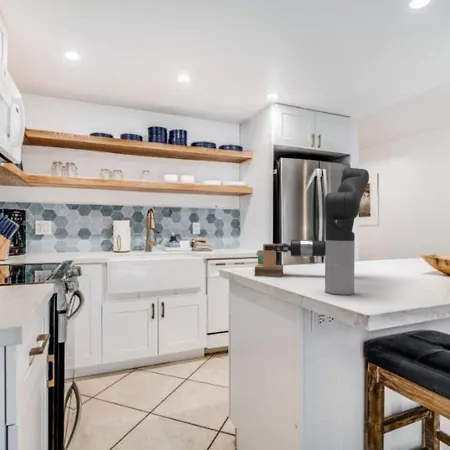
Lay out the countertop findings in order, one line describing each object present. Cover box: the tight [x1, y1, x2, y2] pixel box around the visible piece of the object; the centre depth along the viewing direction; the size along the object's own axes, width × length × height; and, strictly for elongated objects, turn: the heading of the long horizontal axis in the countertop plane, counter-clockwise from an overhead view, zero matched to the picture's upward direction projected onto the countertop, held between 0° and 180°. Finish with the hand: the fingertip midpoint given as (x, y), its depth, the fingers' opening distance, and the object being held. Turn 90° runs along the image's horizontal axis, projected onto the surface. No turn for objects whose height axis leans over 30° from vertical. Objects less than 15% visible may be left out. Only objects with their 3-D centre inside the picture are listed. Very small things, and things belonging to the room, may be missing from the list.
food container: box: [256, 249, 263, 265], centre depth 165 cm, size 12×6×10 cm, turn 25°
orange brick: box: [262, 243, 277, 267], centre depth 152 cm, size 6×6×10 cm
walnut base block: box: [254, 263, 284, 278], centre depth 152 cm, size 12×12×4 cm
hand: (265, 247), depth 152 cm, fingers open, 8 cm apart
